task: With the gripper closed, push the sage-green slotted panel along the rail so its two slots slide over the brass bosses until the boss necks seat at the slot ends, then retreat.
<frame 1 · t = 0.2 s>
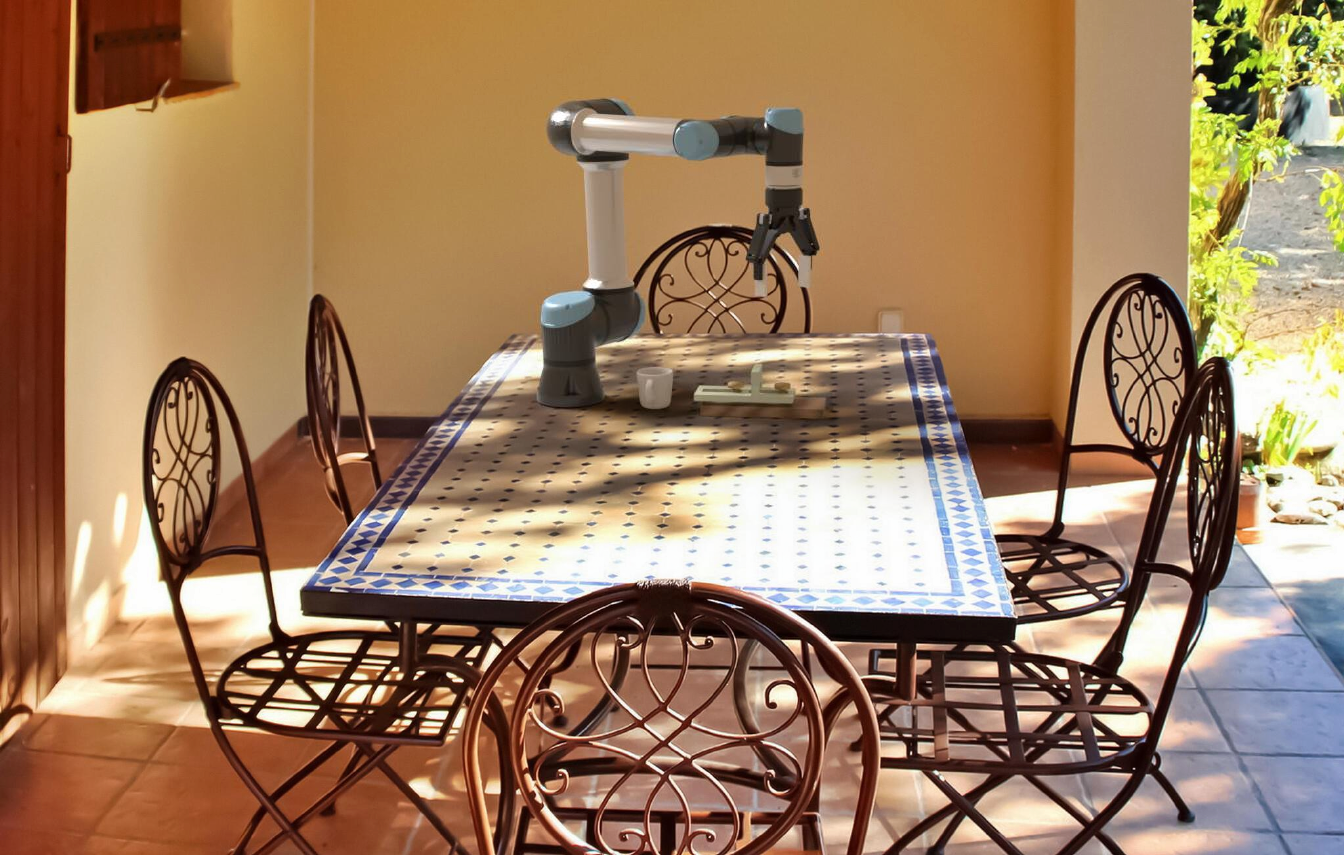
hand: (783, 291, 294), 27 cm above the table, fingers open, 13 cm apart
cup: (654, 409, 312), on the table
panel: (745, 382, 307), point 6 cm above the table, slide at 0.0 cm
rail: (763, 411, 308), on the table
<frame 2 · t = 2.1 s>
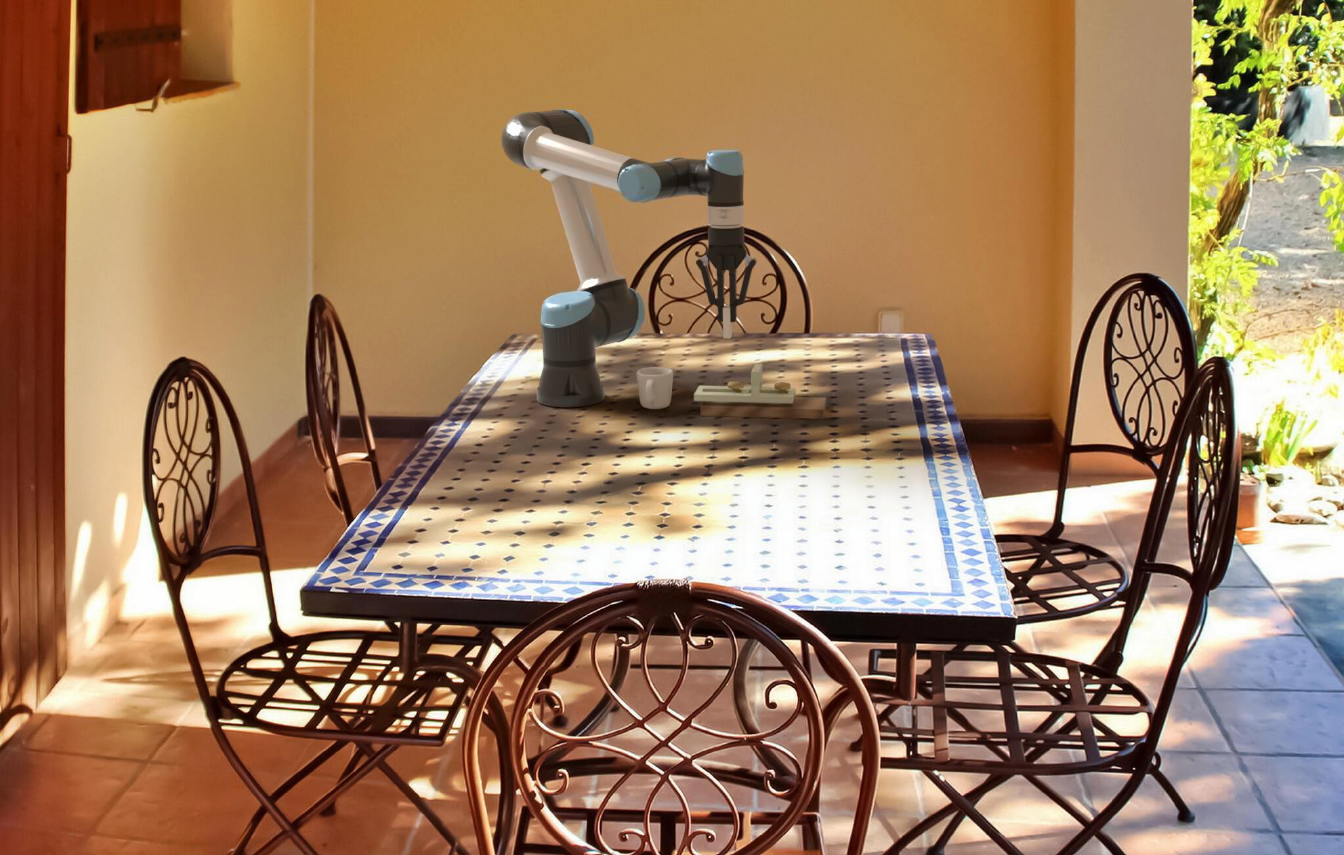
hand: (727, 337, 305), 16 cm above the table, fingers closed
nothing on the table moved.
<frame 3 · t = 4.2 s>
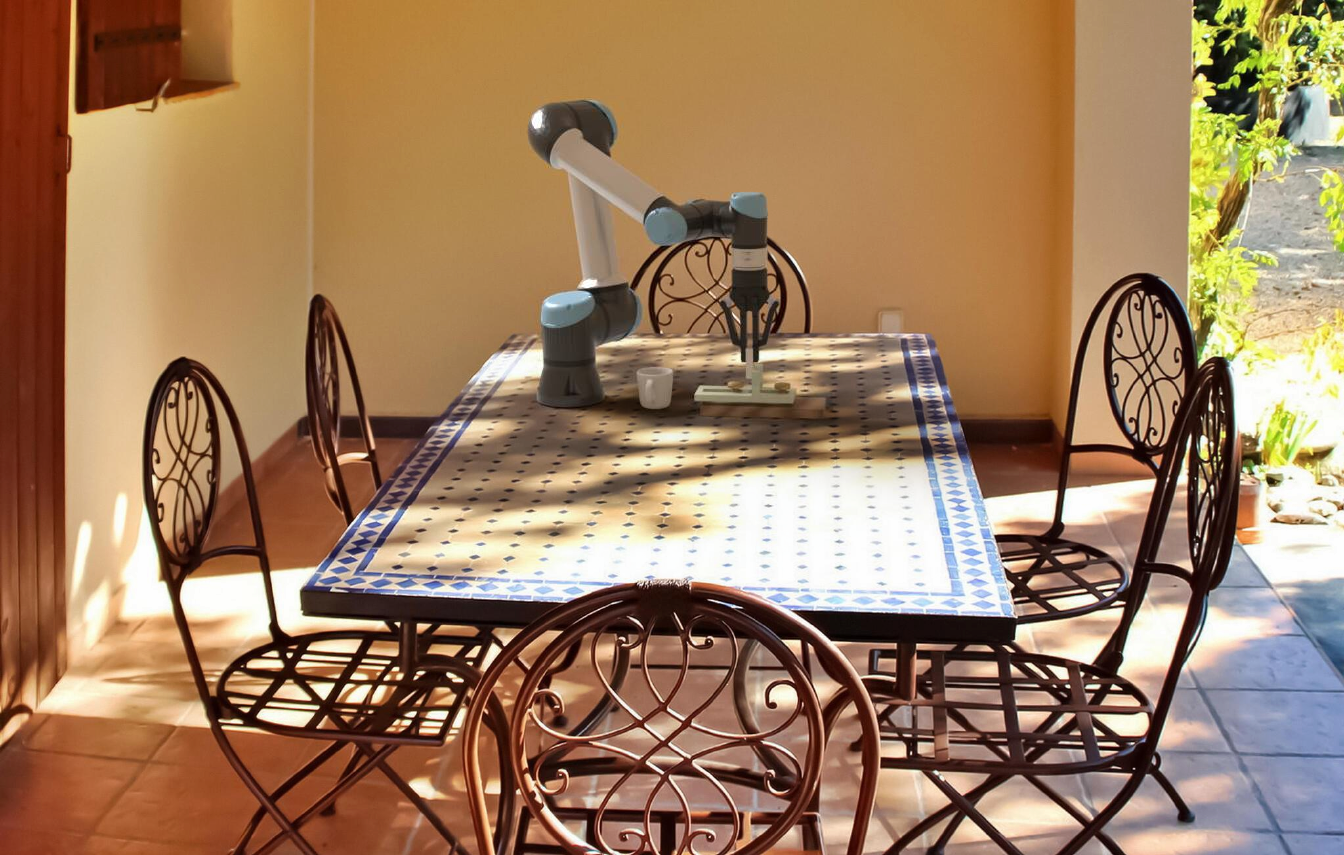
hand: (750, 377, 307), 7 cm above the table, fingers closed
panel: (745, 382, 307), point 6 cm above the table, slide at 0.1 cm, touching gripper
everything else where it was.
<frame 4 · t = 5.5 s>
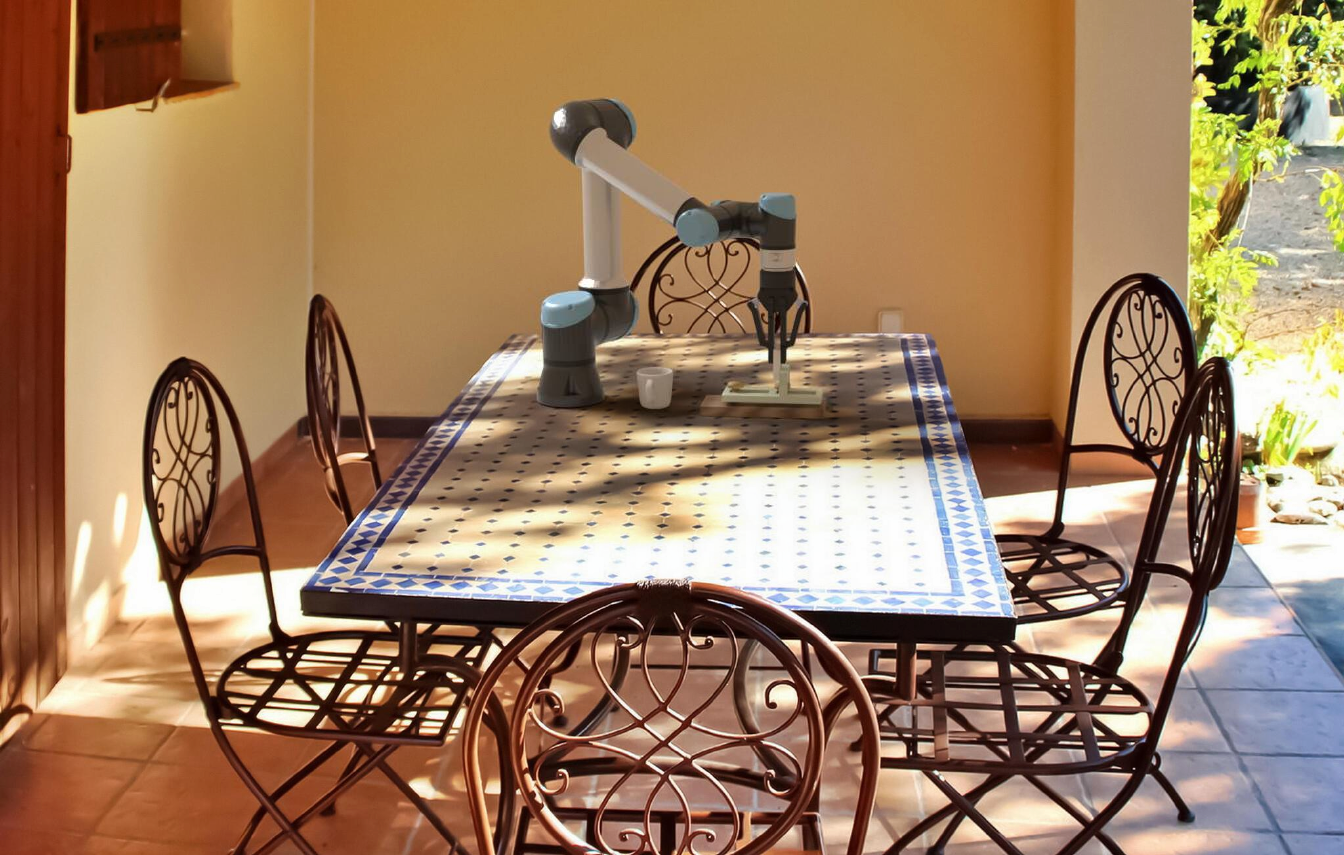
hand: (777, 378, 306), 7 cm above the table, fingers closed
panel: (772, 383, 306), point 6 cm above the table, slide at 5.9 cm, touching gripper
everything else where it was.
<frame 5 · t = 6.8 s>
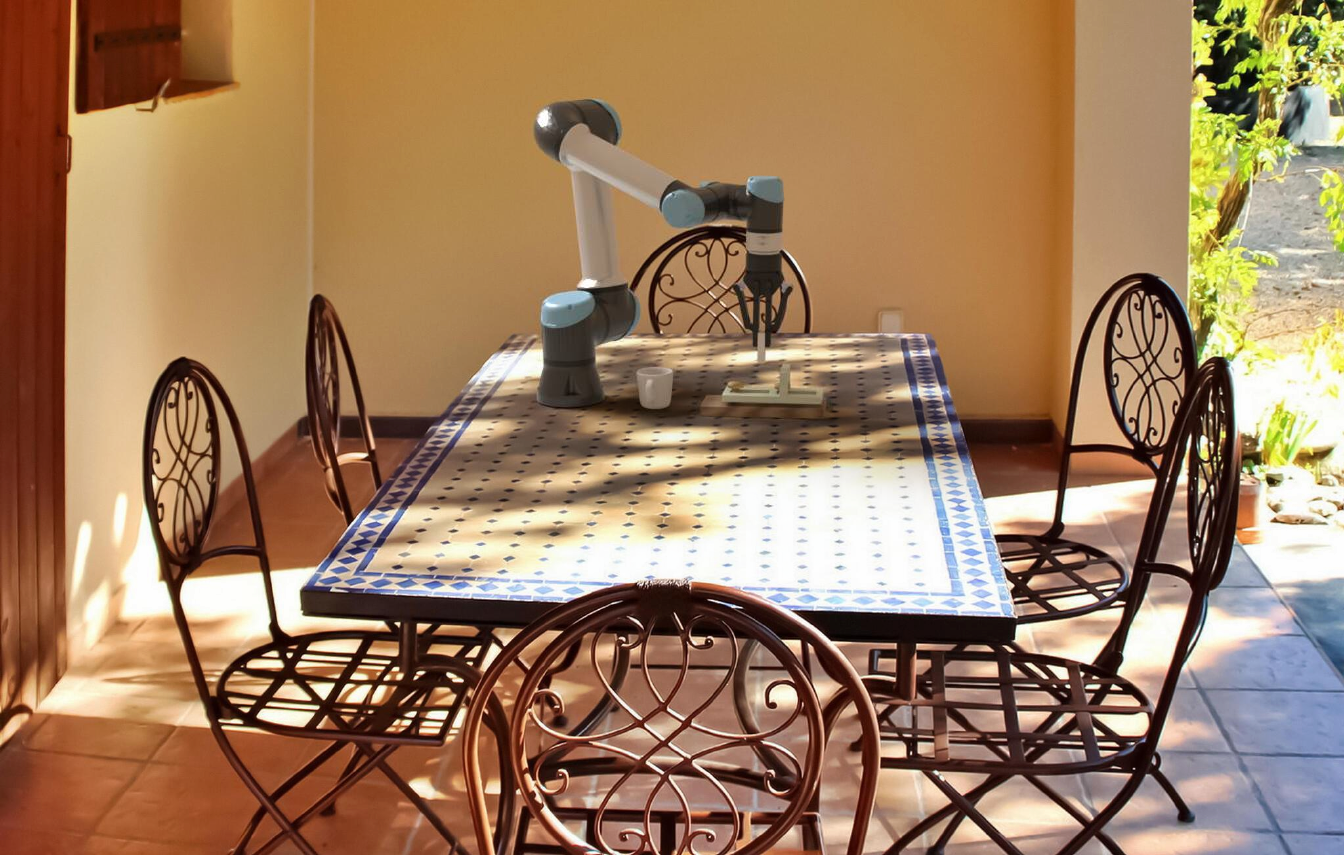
hand: (761, 361, 306), 11 cm above the table, fingers closed
panel: (773, 383, 306), point 6 cm above the table, slide at 6.0 cm
everything else where it was.
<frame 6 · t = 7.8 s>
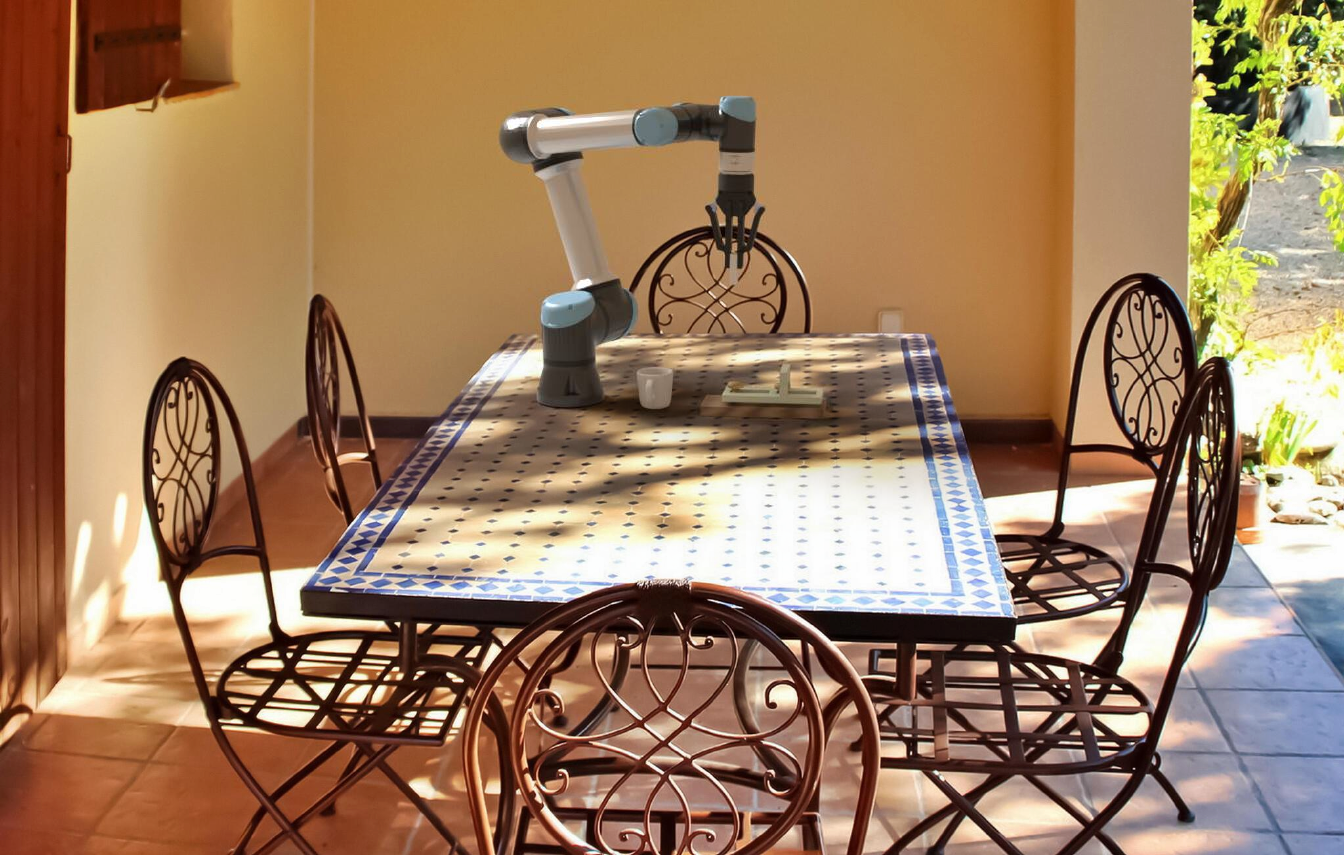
hand: (733, 283, 306), 27 cm above the table, fingers closed
nothing on the table moved.
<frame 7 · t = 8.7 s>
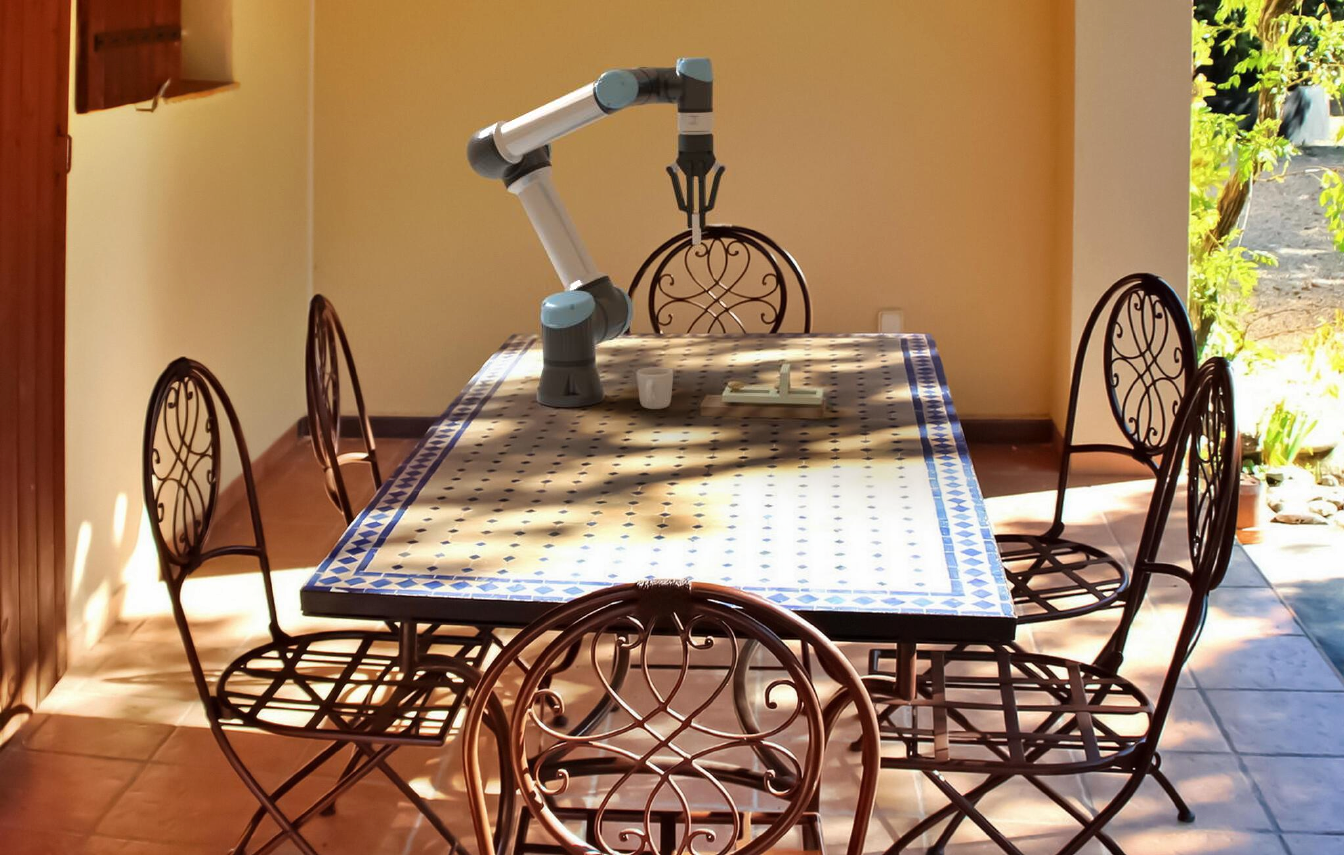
hand: (696, 243, 311), 34 cm above the table, fingers closed
nothing on the table moved.
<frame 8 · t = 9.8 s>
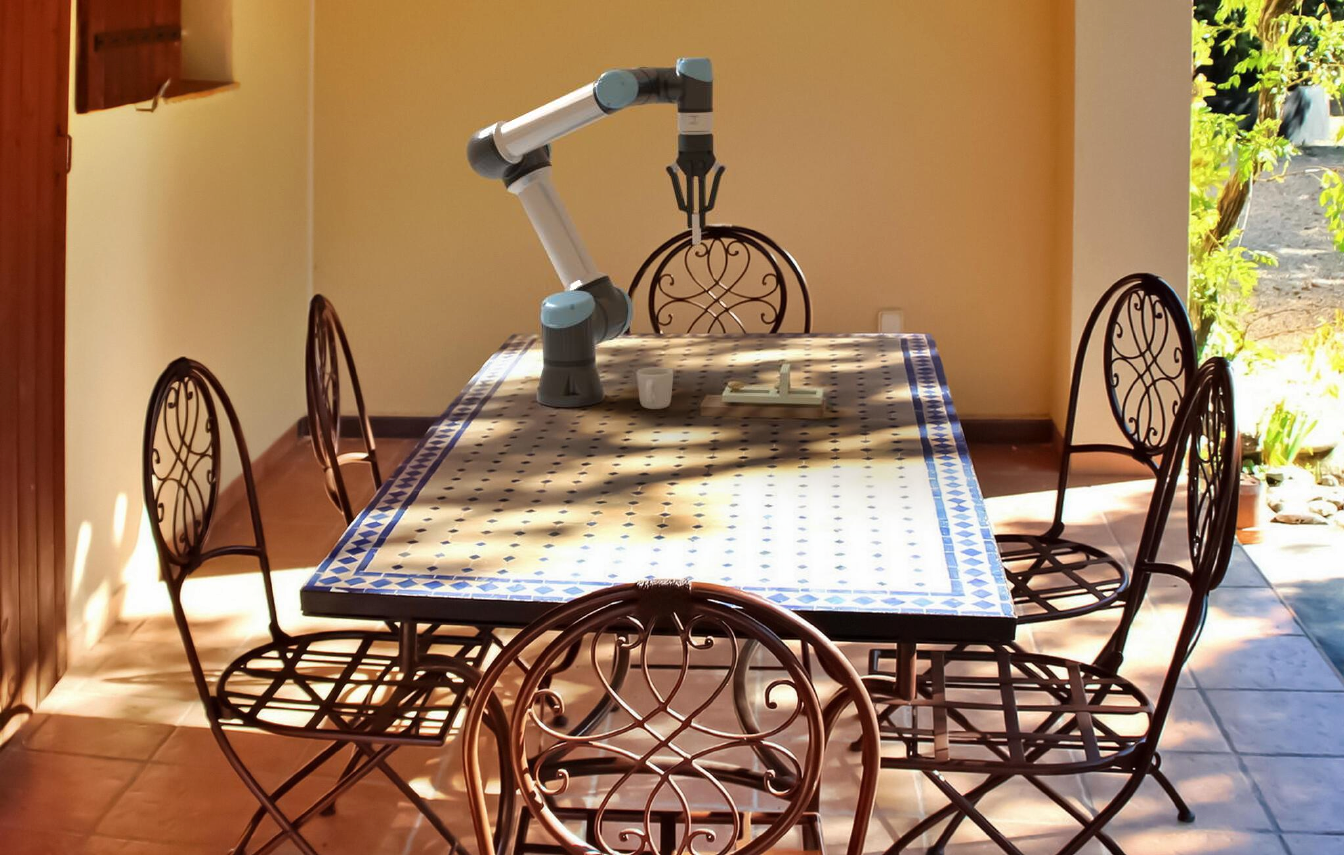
hand: (696, 243, 311), 34 cm above the table, fingers closed
nothing on the table moved.
at the end: panel slide at 6.0 cm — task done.
